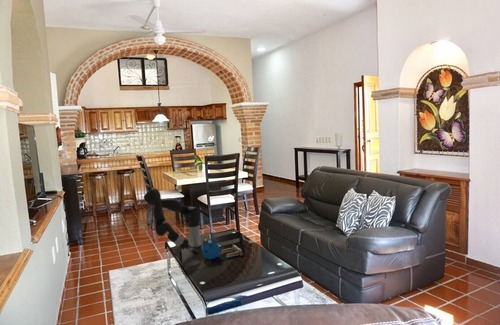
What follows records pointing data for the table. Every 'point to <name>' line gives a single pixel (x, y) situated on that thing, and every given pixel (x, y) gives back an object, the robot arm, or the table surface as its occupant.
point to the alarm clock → (210, 248)
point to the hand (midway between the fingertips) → (198, 254)
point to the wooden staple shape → (235, 248)
